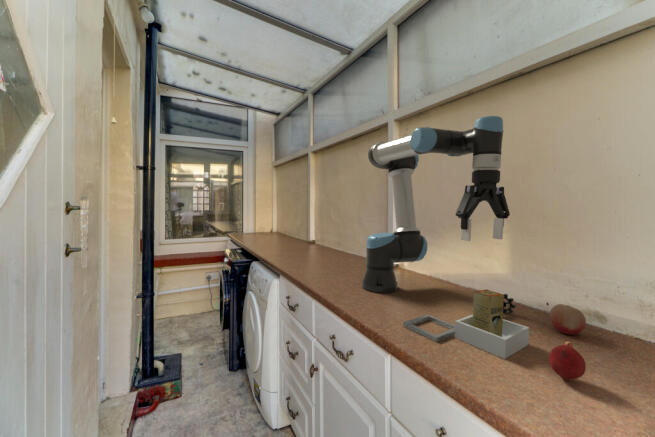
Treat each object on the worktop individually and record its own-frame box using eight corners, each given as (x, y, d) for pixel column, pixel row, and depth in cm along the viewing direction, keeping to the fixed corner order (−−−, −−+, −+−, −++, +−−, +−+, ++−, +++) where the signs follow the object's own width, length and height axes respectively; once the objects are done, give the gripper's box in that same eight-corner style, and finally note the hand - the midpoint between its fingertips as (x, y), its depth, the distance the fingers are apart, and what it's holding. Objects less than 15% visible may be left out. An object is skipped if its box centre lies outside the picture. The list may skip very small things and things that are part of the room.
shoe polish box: (472, 334, 77) (473, 291, 76) (484, 331, 79) (486, 289, 78) (488, 343, 72) (490, 296, 72) (501, 339, 74) (503, 294, 74)
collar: (402, 326, 83) (403, 322, 83) (427, 318, 90) (427, 314, 89) (436, 342, 74) (436, 337, 74) (461, 331, 80) (461, 327, 80)
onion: (574, 392, 55) (576, 351, 54) (541, 375, 60) (543, 338, 59) (590, 384, 57) (593, 345, 56) (557, 369, 62) (559, 333, 62)
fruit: (593, 338, 77) (595, 309, 77) (568, 340, 76) (570, 311, 75) (564, 325, 85) (565, 299, 85) (541, 327, 84) (542, 300, 83)
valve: (490, 322, 87) (515, 316, 92) (491, 301, 87) (516, 296, 92) (471, 314, 93) (496, 309, 98) (472, 295, 93) (497, 291, 98)
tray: (454, 337, 76) (455, 320, 76) (479, 326, 83) (480, 311, 83) (504, 359, 66) (505, 339, 66) (528, 344, 73) (529, 327, 73)
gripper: (465, 166, 77) (461, 243, 79) (525, 171, 87) (521, 239, 88) (444, 168, 84) (441, 239, 86) (502, 173, 94) (498, 236, 95)
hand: (482, 239), depth 87 cm, fingers open, 13 cm apart
